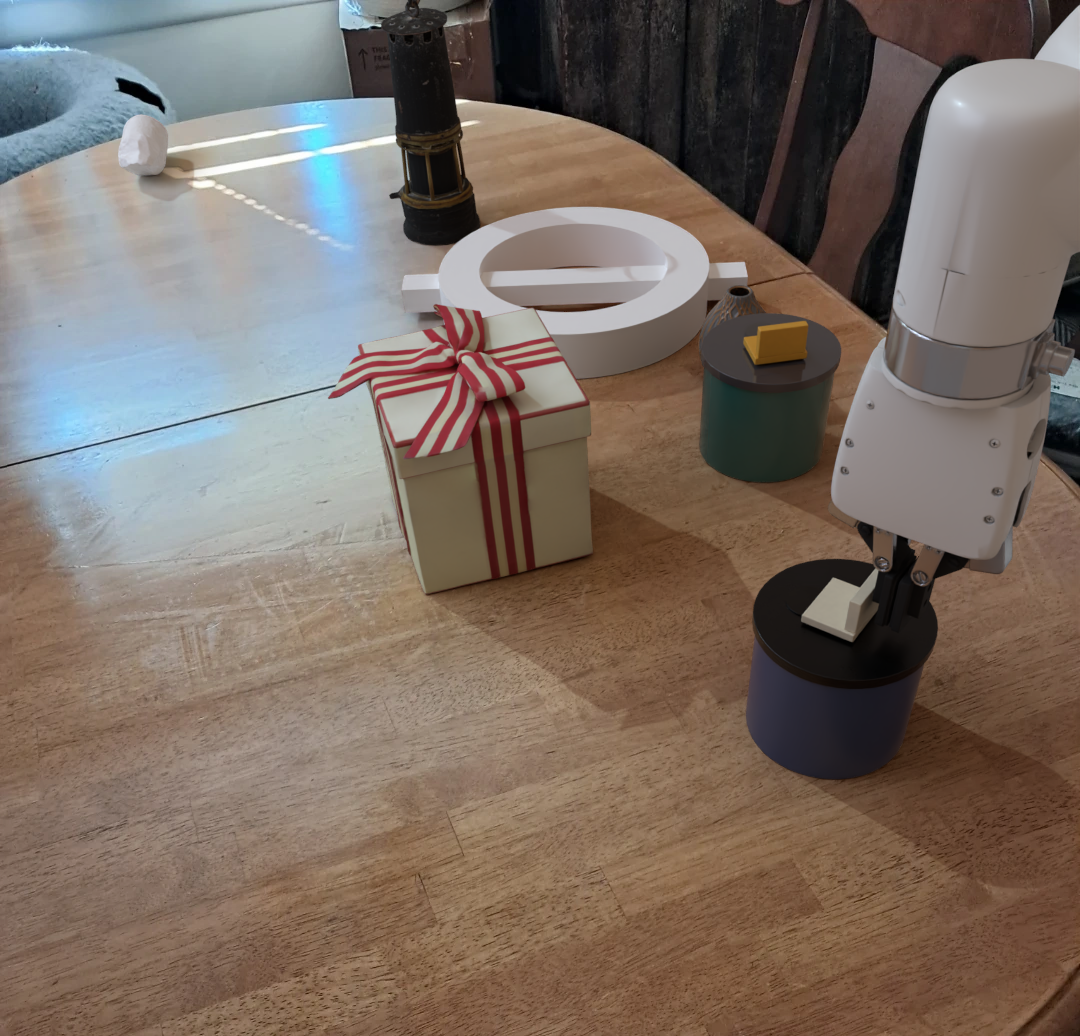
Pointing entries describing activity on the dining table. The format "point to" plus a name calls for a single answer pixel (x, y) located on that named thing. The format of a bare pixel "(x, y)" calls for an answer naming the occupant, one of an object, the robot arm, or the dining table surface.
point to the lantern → (428, 130)
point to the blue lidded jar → (830, 678)
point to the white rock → (143, 146)
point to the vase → (730, 309)
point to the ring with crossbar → (585, 282)
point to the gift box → (480, 445)
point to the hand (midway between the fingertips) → (896, 615)
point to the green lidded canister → (765, 402)
